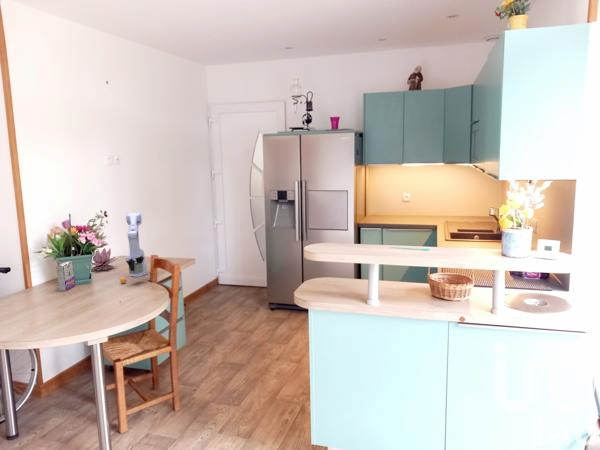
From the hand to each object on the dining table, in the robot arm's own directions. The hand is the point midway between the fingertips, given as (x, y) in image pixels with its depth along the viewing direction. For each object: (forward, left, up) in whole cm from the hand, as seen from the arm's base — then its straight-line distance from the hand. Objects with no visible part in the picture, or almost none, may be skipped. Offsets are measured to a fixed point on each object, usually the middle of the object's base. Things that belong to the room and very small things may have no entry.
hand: (135, 269), depth 290 cm
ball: (+3, -9, -7) cm, 12 cm away
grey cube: (0, 0, -2) cm, 2 cm away
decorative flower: (-22, -52, -10) cm, 57 cm away
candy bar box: (+23, -36, -10) cm, 44 cm away
